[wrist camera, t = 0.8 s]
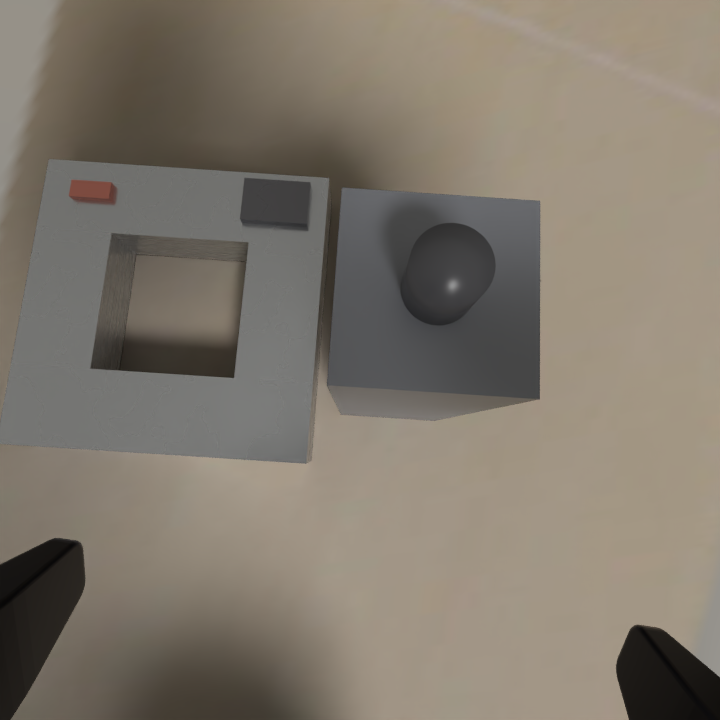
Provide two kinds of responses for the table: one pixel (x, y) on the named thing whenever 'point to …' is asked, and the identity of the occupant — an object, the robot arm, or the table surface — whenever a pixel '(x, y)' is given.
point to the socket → (111, 301)
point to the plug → (434, 304)
